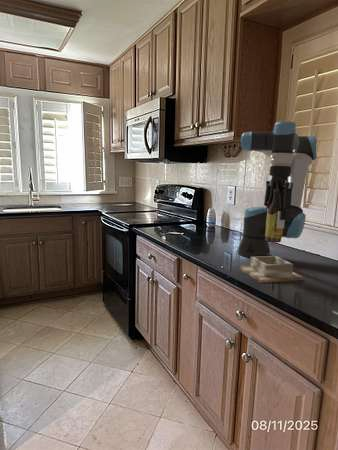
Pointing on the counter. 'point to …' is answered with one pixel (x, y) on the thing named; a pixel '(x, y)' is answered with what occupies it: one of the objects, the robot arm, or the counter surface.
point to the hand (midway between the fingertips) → (274, 226)
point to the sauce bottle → (273, 221)
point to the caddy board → (270, 269)
